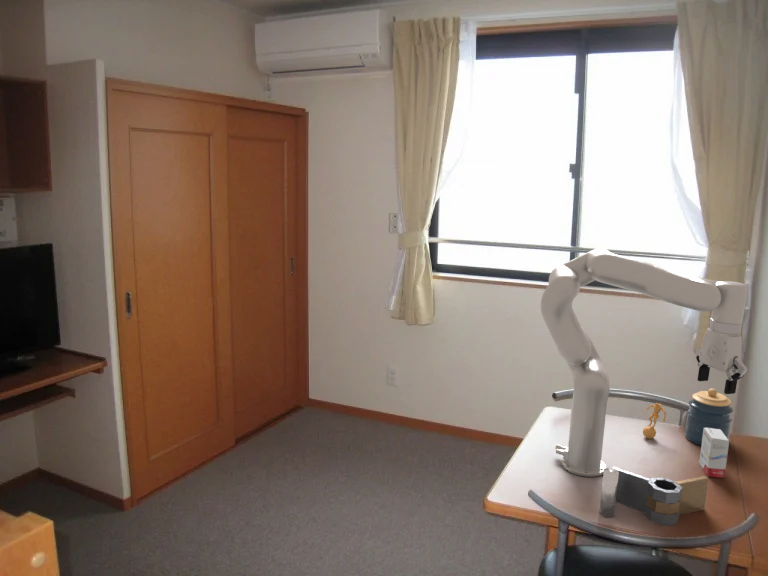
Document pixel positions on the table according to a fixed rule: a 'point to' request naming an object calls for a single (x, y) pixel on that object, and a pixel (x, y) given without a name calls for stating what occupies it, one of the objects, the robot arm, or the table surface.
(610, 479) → the hinge pin
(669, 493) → the fixed hinge leaf
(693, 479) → the bronze hinge leaf
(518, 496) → the table surface
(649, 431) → the figurine
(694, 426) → the canister
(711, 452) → the ink box
